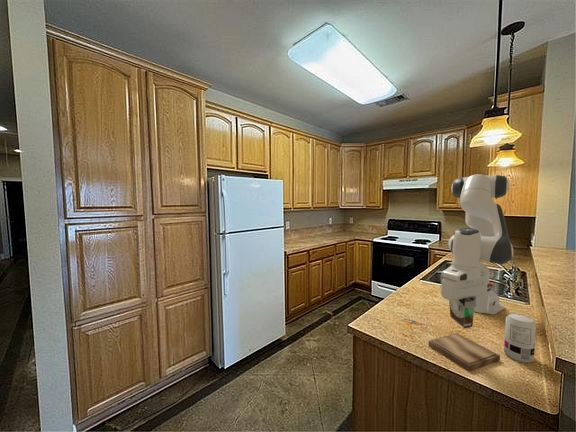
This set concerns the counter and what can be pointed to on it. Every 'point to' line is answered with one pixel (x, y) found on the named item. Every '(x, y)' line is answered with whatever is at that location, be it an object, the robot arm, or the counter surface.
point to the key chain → (415, 323)
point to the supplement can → (520, 337)
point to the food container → (463, 312)
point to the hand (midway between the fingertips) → (464, 307)
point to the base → (464, 351)
